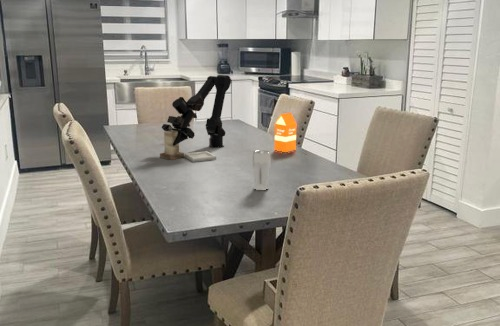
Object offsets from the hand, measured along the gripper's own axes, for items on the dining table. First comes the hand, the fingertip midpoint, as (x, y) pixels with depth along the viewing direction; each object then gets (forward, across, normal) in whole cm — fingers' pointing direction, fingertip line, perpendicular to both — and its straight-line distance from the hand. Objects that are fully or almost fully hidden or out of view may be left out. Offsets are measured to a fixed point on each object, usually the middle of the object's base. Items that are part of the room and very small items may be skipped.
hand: (169, 144), depth 239 cm
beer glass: (+14, +66, -4) cm, 68 cm away
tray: (-2, +12, +11) cm, 17 cm away
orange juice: (-31, +35, +40) cm, 62 cm away
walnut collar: (+4, 0, +6) cm, 7 cm away
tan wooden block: (+4, 0, +6) cm, 7 cm away
